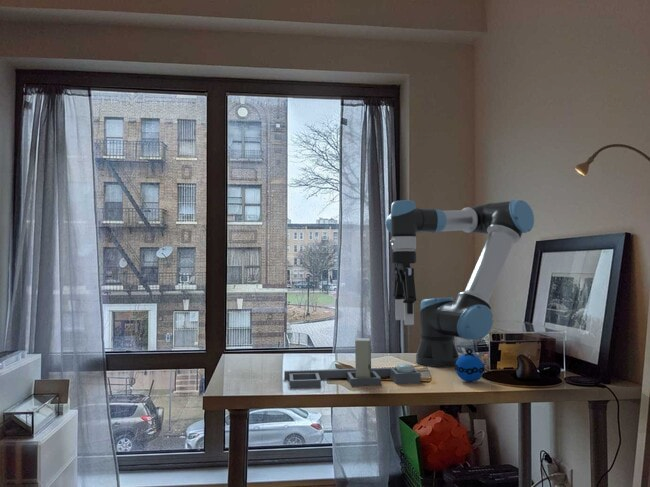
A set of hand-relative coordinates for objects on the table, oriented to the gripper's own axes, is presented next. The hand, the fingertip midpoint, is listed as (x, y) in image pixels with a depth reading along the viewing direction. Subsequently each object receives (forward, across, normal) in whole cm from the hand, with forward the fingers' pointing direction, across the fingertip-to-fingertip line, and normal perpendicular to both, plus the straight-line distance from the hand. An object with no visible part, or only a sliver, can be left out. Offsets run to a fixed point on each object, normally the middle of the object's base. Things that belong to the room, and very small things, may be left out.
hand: (404, 322), depth 150 cm
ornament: (+18, +4, +19) cm, 27 cm away
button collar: (+18, 0, 0) cm, 18 cm away
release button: (+16, 0, 0) cm, 16 cm away
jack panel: (+18, -1, -18) cm, 25 cm away
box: (+18, 0, -13) cm, 22 cm away
